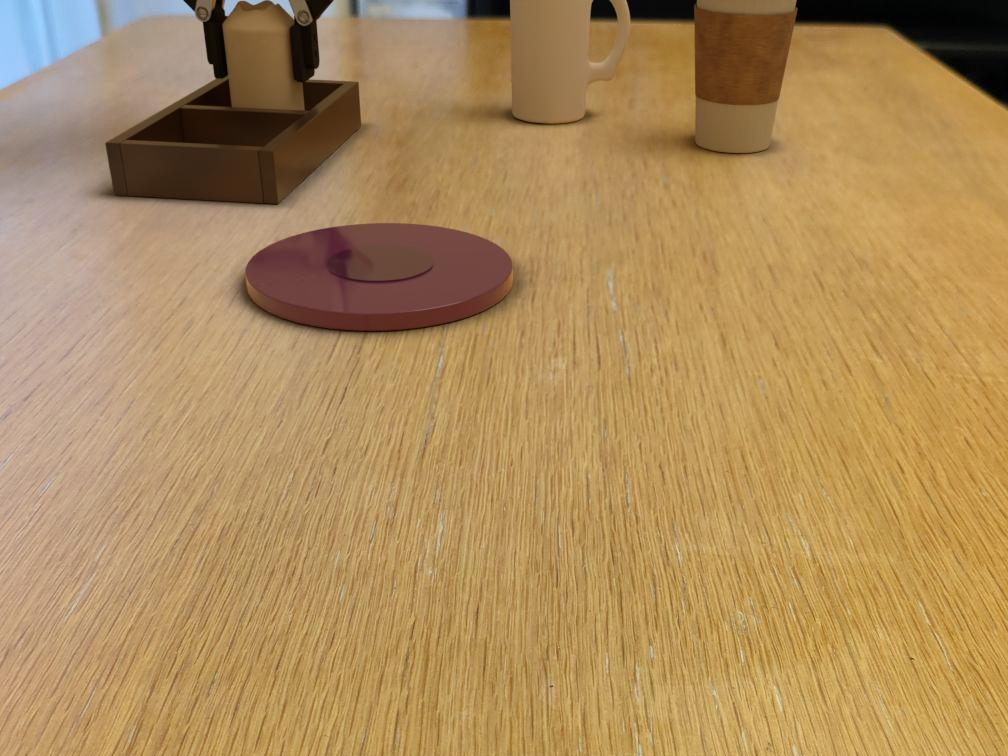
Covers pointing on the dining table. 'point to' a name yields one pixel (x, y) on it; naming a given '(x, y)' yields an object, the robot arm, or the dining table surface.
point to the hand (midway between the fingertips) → (265, 74)
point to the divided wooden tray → (232, 145)
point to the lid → (379, 276)
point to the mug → (557, 57)
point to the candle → (261, 57)
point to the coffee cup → (739, 71)
